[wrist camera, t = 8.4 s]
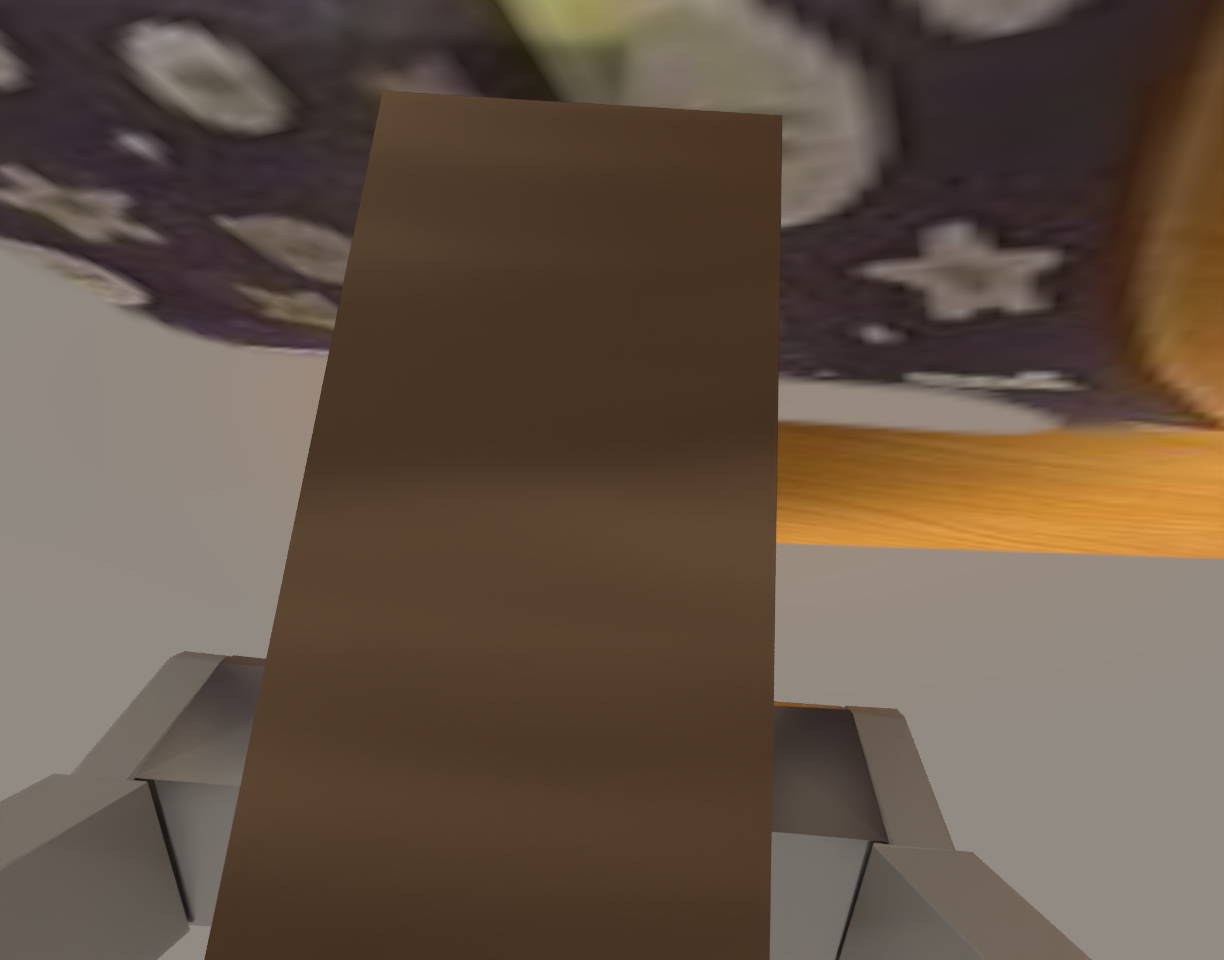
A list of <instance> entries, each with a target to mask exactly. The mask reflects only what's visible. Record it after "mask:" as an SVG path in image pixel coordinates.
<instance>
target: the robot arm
mask: <svg viewBox="0 0 1224 960" xmlns="http://www.w3.org/2000/svg"><path fill="white" fill-rule="evenodd" d="M265 663H266V659H262V658H253V657H244V656H232V657H230V656H224V655H214V654H205V653H196V652H187V651H184V652H182V653H179V654H177V655H175V656H173V657H171V658H169V659H168V660H167V661H166V662H165V664H164V665H163V666H162V667H161V668H160V669H159V671H158V672H157V673H156V674H155V675H154V677H153V678H152V679H151V680H150V681H149V682H148V684H147V685H146V686H145V687H144V688H143V690H142V691H141V692H140V693H139V694H138V695H137V697H136V698H135V699H134V700H133V701H132V702H131V704H130V705H129V706H128V707H127V708H126V709H125V711H124V712H123V713H122V714H121V715H120V717H119V718H118V719H117V720H116V721H115V722H114V724H113V725H112V726H111V727H110V728H109V730H108V731H107V732H106V733H105V735H103V737H102V738H101V739H100V740H99V741H98V742H97V744H96V745H95V746H94V747H93V748H92V750H91V751H90V752H89V753H88V754H87V756H86V757H85V758H84V759H83V760H82V761H81V763H80V764H79V765H78V766H77V767H76V768H75V770H74V771H73V772H72V773H71V774H70V775H65V774H64V775H63V774H52V775H50V776H48V777H46V778H44V779H42V780H41V781H39V782H37V783H35V784H33V785H31V786H29V787H27V788H25V789H23V790H21V791H20V792H18V793H16V794H14V795H12V796H10V797H8V798H6V799H4V800H2V801H1V802H0V960H157V959H158V958H159V957H160V956H162V955H163V954H164V953H165V952H166V951H167V950H168V949H169V948H171V947H172V946H173V945H174V944H175V943H176V942H177V941H179V940H180V939H181V938H182V937H183V936H184V935H185V934H186V933H188V932H189V929H190V928H189V925H200V926H212V921H213V916H214V911H215V906H216V901H217V896H218V891H219V887H220V882H221V877H222V872H223V867H224V862H225V857H226V853H227V848H228V843H229V838H230V833H231V828H232V823H233V818H234V814H235V809H236V804H237V799H238V794H239V789H240V784H241V779H242V775H243V770H244V765H245V760H246V755H247V750H248V745H249V741H250V736H251V731H252V726H253V721H254V716H255V711H256V706H257V702H258V697H259V692H260V687H261V682H262V677H263V672H264V668H265ZM770 960H1092V959H1091V958H1090V957H1088V956H1087V955H1086V954H1085V953H1084V952H1083V951H1082V950H1081V949H1079V948H1078V947H1077V946H1076V945H1075V944H1074V943H1073V942H1072V941H1071V940H1070V939H1068V938H1067V937H1066V936H1065V935H1064V934H1063V933H1062V932H1061V931H1059V929H1057V928H1056V927H1055V926H1054V925H1053V924H1052V923H1051V922H1050V921H1049V920H1047V919H1046V918H1045V917H1044V916H1043V915H1042V914H1040V912H1039V911H1037V910H1036V909H1035V908H1034V907H1033V906H1032V905H1031V904H1030V903H1029V902H1027V901H1026V900H1025V899H1024V898H1023V897H1022V896H1021V895H1019V893H1017V892H1016V891H1015V890H1014V889H1013V888H1012V887H1011V886H1010V885H1009V884H1008V883H1006V882H1005V881H1004V880H1003V879H1002V878H1001V877H1000V876H999V875H998V874H996V873H995V872H994V871H993V870H992V869H991V868H990V867H989V866H988V865H986V864H985V863H984V862H983V861H982V860H981V859H980V858H979V857H978V856H976V855H975V854H974V853H973V852H965V851H957V850H955V847H954V845H953V842H952V840H951V837H950V834H949V831H948V829H947V826H946V824H945V821H944V819H943V816H942V814H941V811H940V808H939V806H938V803H937V800H936V798H935V795H934V792H933V790H932V787H931V784H930V782H929V779H928V777H927V774H926V771H925V769H924V766H923V764H922V761H921V758H920V756H919V753H918V750H917V748H916V745H915V743H914V740H913V738H912V735H911V732H910V730H909V727H908V725H907V722H906V719H905V717H904V716H903V714H901V713H900V712H899V711H898V710H897V709H891V708H875V707H859V706H845V707H841V706H831V705H818V704H803V703H790V702H777V701H774V710H773V777H772V844H771V912H770Z"/></svg>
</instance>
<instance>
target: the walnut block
mask: <svg viewBox="0 0 1224 960" xmlns="http://www.w3.org/2000/svg"><path fill="white" fill-rule="evenodd" d="M781 171H782V116H781V115H765V114H749V113H733V112H716V111H700V110H684V109H667V108H651V107H635V106H619V105H602V104H586V103H570V102H553V101H537V100H521V99H505V98H488V97H472V96H456V95H440V94H423V93H407V92H391V91H383V93H382V98H381V103H380V108H379V113H378V117H377V122H376V127H375V132H374V137H373V142H372V147H371V152H370V156H369V161H368V166H367V171H366V176H365V181H364V186H363V190H362V195H361V200H360V205H359V210H358V215H357V220H356V225H355V229H354V234H353V239H352V244H351V249H350V254H349V259H348V264H347V268H346V273H345V278H344V283H343V288H342V293H341V298H340V302H339V307H338V312H337V317H336V322H335V327H334V332H333V337H332V341H331V346H330V351H329V356H328V361H327V366H326V371H325V376H324V380H323V385H322V390H321V395H320V400H319V405H318V410H317V414H316V419H315V424H314V429H313V434H312V439H311V444H310V448H309V454H308V458H307V463H306V468H305V473H304V478H303V483H302V488H301V492H300V497H299V502H298V508H297V512H296V517H295V522H294V526H293V531H292V536H291V541H290V546H289V551H288V556H287V560H286V565H285V570H284V575H283V580H282V585H281V590H280V595H279V600H278V604H277V609H276V614H275V619H274V624H273V629H272V633H271V638H270V644H269V649H268V653H267V658H266V663H265V668H264V672H263V677H262V682H261V687H260V692H259V697H258V702H257V706H256V711H255V716H254V721H253V726H252V731H251V736H250V741H249V745H248V750H247V755H246V760H245V765H244V770H243V775H242V779H241V784H240V789H239V794H238V799H237V804H236V809H235V814H234V818H233V823H232V828H231V833H230V838H229V843H228V848H227V853H226V857H225V862H224V867H223V872H222V877H221V882H220V887H219V891H218V896H217V901H216V906H215V911H214V916H213V921H212V926H211V931H210V936H209V940H208V945H207V950H206V955H205V960H770V912H771V844H772V777H773V710H774V642H775V641H774V640H775V575H776V573H775V572H776V508H777V440H778V373H779V306H780V238H781Z"/></svg>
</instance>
